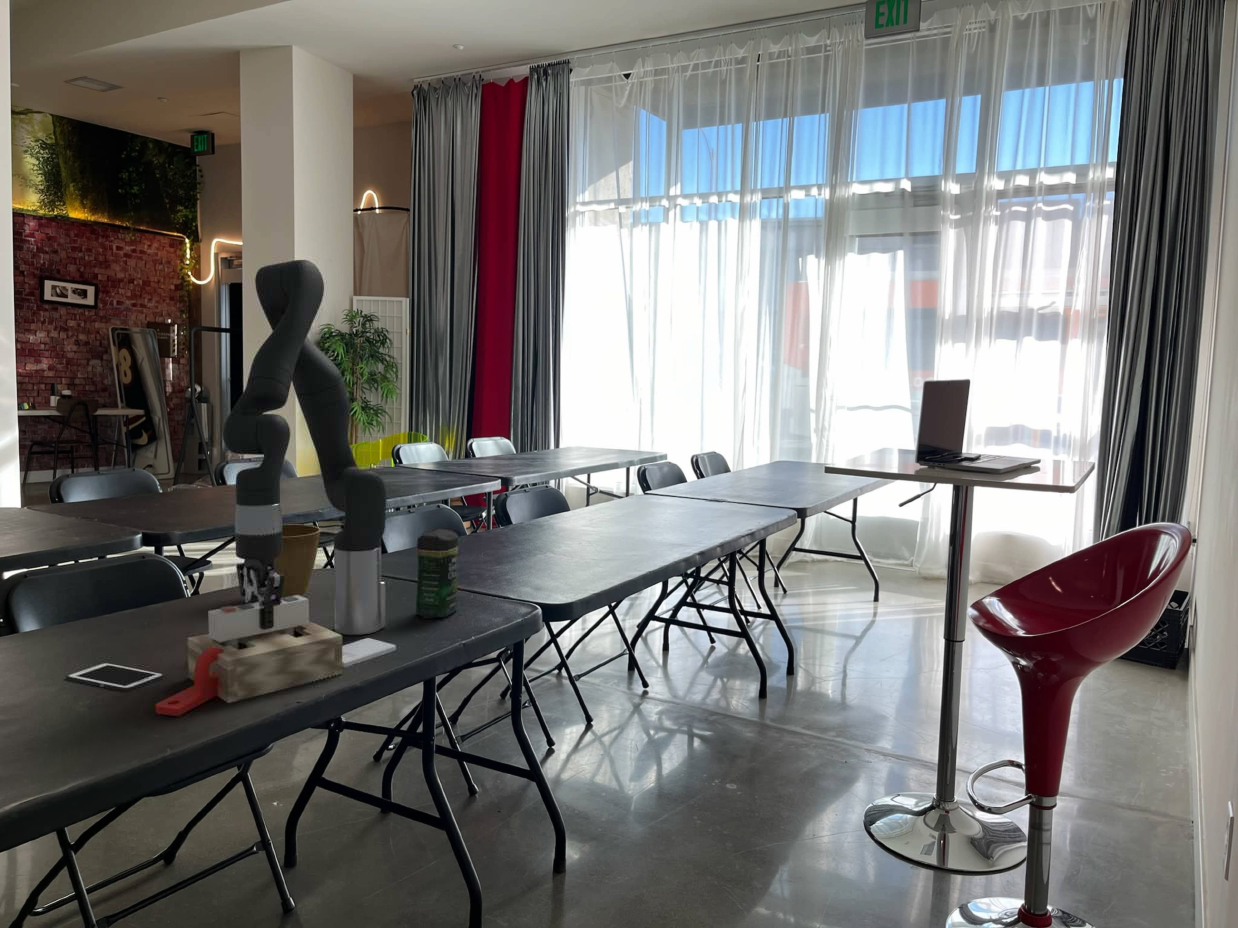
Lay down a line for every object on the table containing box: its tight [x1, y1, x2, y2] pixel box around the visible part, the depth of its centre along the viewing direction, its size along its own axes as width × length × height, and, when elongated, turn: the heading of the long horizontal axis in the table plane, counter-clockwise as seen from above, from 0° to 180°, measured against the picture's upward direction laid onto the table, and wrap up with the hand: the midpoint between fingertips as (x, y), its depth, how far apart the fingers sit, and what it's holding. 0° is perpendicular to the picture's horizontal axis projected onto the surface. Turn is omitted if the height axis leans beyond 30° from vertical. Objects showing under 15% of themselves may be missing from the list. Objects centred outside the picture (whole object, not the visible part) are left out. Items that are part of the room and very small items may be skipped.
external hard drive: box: [342, 637, 397, 668], centre depth 166 cm, size 2×8×12 cm
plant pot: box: [274, 523, 321, 598], centre depth 204 cm, size 15×15×16 cm
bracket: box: [155, 647, 224, 717], centre depth 141 cm, size 12×4×8 cm, turn 167°
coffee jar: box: [415, 528, 459, 619], centre depth 194 cm, size 10×8×19 cm
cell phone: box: [65, 662, 165, 693], centre depth 151 cm, size 8×15×1 cm, turn 69°
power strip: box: [207, 595, 310, 650], centre depth 154 cm, size 16×4×9 cm, turn 137°
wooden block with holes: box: [187, 620, 343, 704], centre depth 153 cm, size 20×16×7 cm
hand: (260, 625), depth 154 cm, fingers closed on power strip, 4 cm apart
